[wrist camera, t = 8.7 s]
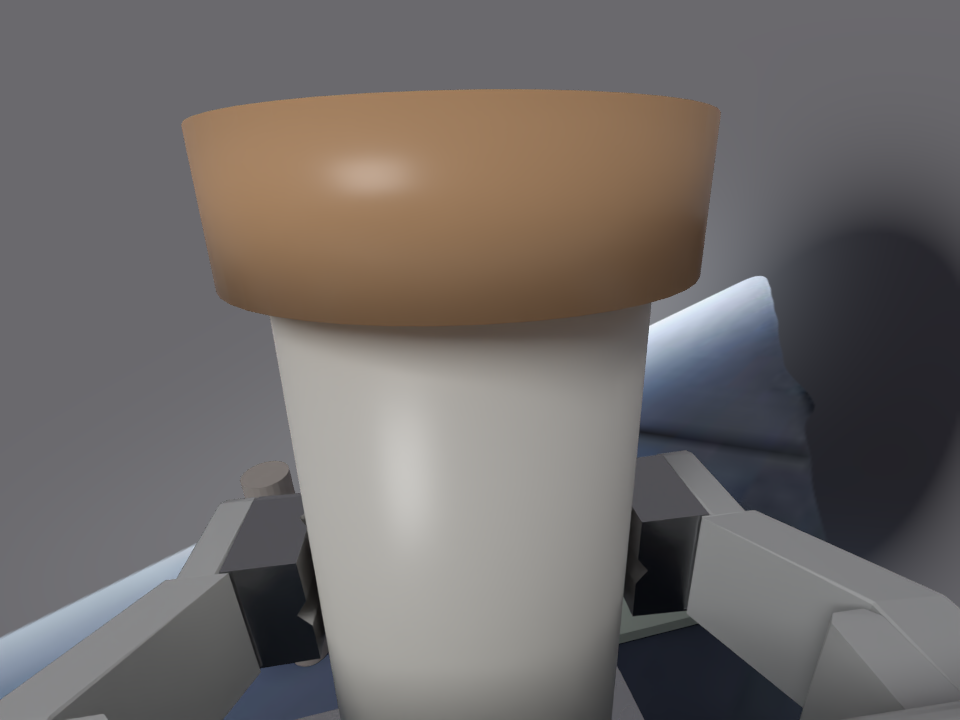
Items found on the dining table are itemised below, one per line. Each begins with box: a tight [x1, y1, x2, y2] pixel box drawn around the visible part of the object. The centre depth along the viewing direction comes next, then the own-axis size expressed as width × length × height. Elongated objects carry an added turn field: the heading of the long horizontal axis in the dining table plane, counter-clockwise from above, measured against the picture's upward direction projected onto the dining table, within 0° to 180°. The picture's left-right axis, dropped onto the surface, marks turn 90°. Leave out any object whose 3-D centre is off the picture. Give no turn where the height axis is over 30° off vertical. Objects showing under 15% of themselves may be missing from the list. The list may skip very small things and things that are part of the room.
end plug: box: [181, 89, 721, 720], centre depth 8 cm, size 5×5×15 cm
